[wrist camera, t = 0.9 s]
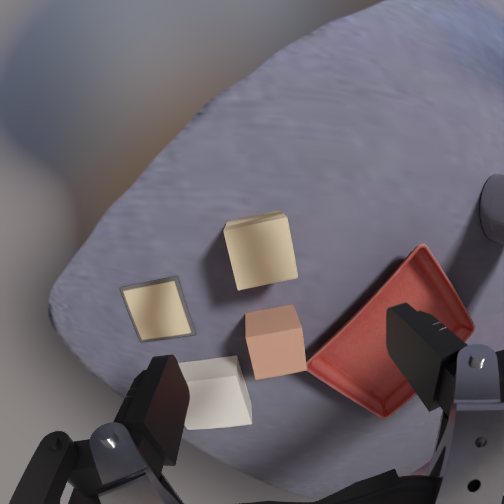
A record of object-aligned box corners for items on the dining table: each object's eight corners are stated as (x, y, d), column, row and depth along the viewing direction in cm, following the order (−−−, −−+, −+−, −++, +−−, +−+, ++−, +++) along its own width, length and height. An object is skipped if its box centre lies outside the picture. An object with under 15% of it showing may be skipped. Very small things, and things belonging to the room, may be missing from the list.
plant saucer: (464, 319, 31) (477, 329, 28) (377, 407, 34) (385, 421, 31) (407, 233, 28) (423, 240, 24) (295, 350, 31) (300, 367, 27)
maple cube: (279, 210, 26) (287, 217, 22) (289, 260, 28) (298, 277, 23) (227, 221, 27) (223, 230, 22) (238, 271, 28) (237, 290, 23)
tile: (177, 275, 28) (176, 276, 27) (196, 333, 29) (195, 335, 29) (120, 287, 28) (118, 288, 27) (141, 341, 29) (140, 343, 29)
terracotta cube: (293, 304, 29) (301, 327, 24) (298, 343, 30) (306, 370, 25) (245, 312, 29) (245, 337, 24) (254, 351, 30) (255, 379, 25)
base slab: (236, 353, 30) (236, 375, 26) (251, 401, 32) (252, 424, 28) (170, 362, 31) (163, 383, 27) (191, 408, 33) (187, 429, 29)
